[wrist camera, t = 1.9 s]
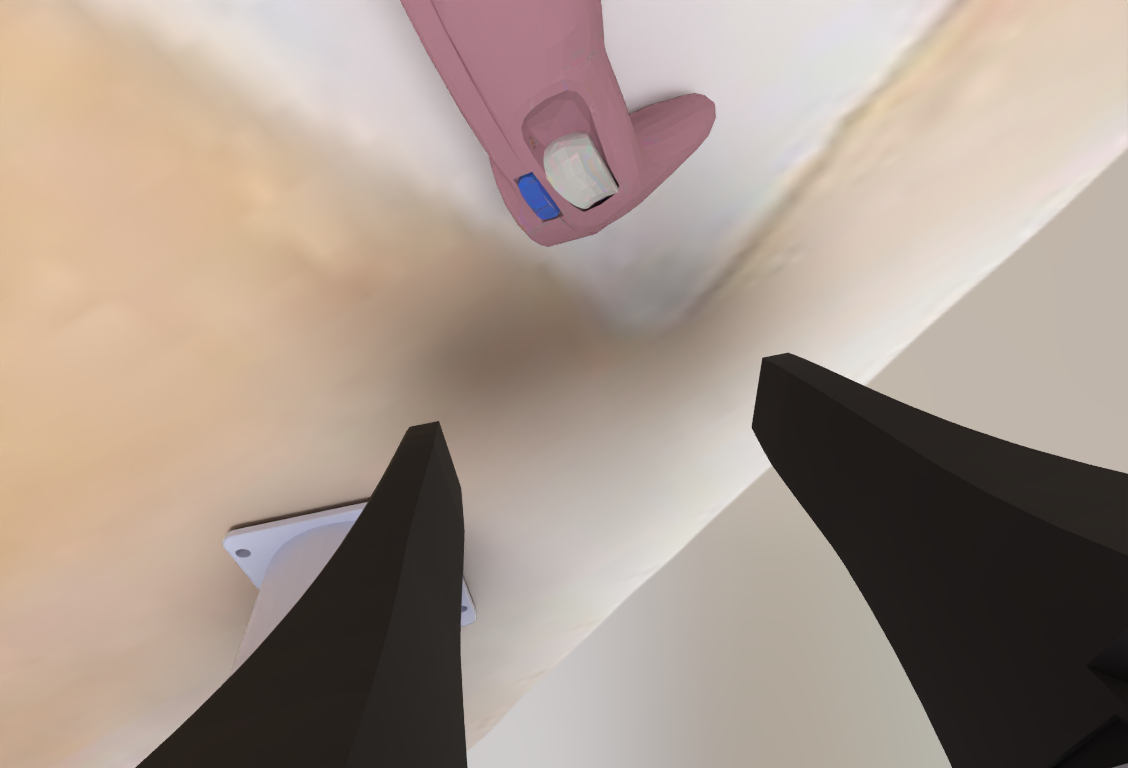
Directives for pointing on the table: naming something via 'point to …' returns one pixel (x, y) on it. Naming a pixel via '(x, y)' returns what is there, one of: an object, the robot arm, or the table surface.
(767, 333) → the table surface
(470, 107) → the video game controller
